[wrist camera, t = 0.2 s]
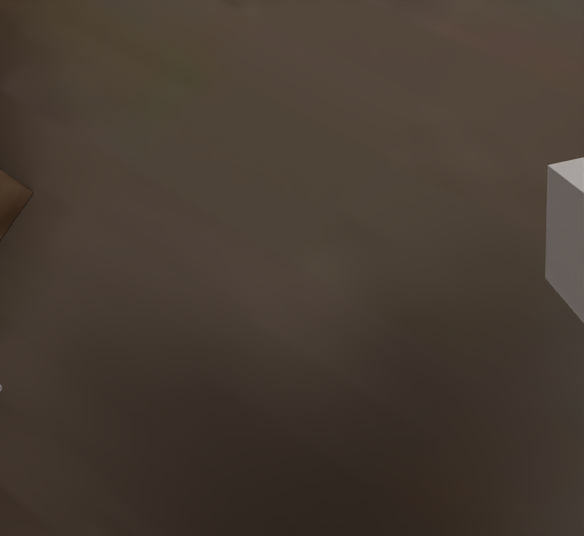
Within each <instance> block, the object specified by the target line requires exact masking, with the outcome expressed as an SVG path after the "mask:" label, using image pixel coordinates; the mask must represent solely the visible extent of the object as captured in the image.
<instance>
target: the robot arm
mask: <svg viewBox="0 0 584 536" xmlns="http://www.w3.org/2000/svg"><path fill="white" fill-rule="evenodd" d="M545 278H546V279H547V280H548V282H549V283H550V284H551V285H552V286H553V288H554V289H555V290H556V291H557V292H558V293H559V295H560V296H561V297H562V298H563V299H564V300H565V302H566V303H567V304H568V305H569V306H570V307H571V309H572V310H573V311H574V312H575V313H576V314H577V316H578V317H579V318H580V319H581V320H582V321H583V323H584V158H579V159H574V160H570V161H565V162H560V163H556V164H551V165H548V178H547V222H546V266H545ZM1 389H2V386H1V384H0V391H1Z"/></svg>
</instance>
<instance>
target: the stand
mask: <svg viewBox="0 0 584 536" xmlns="http://www.w3.org/2000/svg"><path fill="white" fill-rule="evenodd" d="M32 194H33V192H31V191H30V190H29V189H27V188H26V187H24V186H23V185H22V184H20V183H19V182H17V181H16V180H15V179H13V178H12V177H11V176H9V175H8V174H6V173H5V172H4V171H2V170H1V169H0V240H1V238H2V237H3V235H4V234H5V233H6V231H7V230H8V228H9V227H10V225H11V224H12V223H13V221H14V220H15V218H16V217H17V215H18V214H19V213H20V211H21V210H22V208H23V207H24V205H25V204H26V202H27V201H28V200H29V198H30V197H31V195H32Z"/></svg>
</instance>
